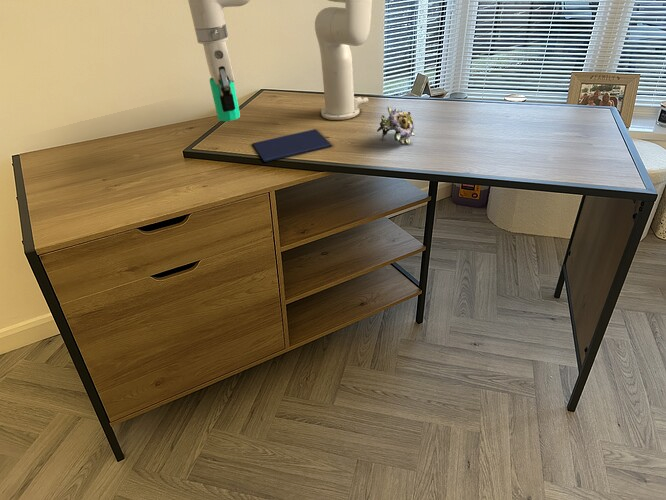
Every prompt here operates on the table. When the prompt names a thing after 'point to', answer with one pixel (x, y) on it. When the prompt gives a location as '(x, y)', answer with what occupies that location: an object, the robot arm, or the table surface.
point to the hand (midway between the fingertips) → (227, 106)
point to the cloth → (291, 145)
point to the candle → (220, 113)
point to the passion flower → (398, 125)
